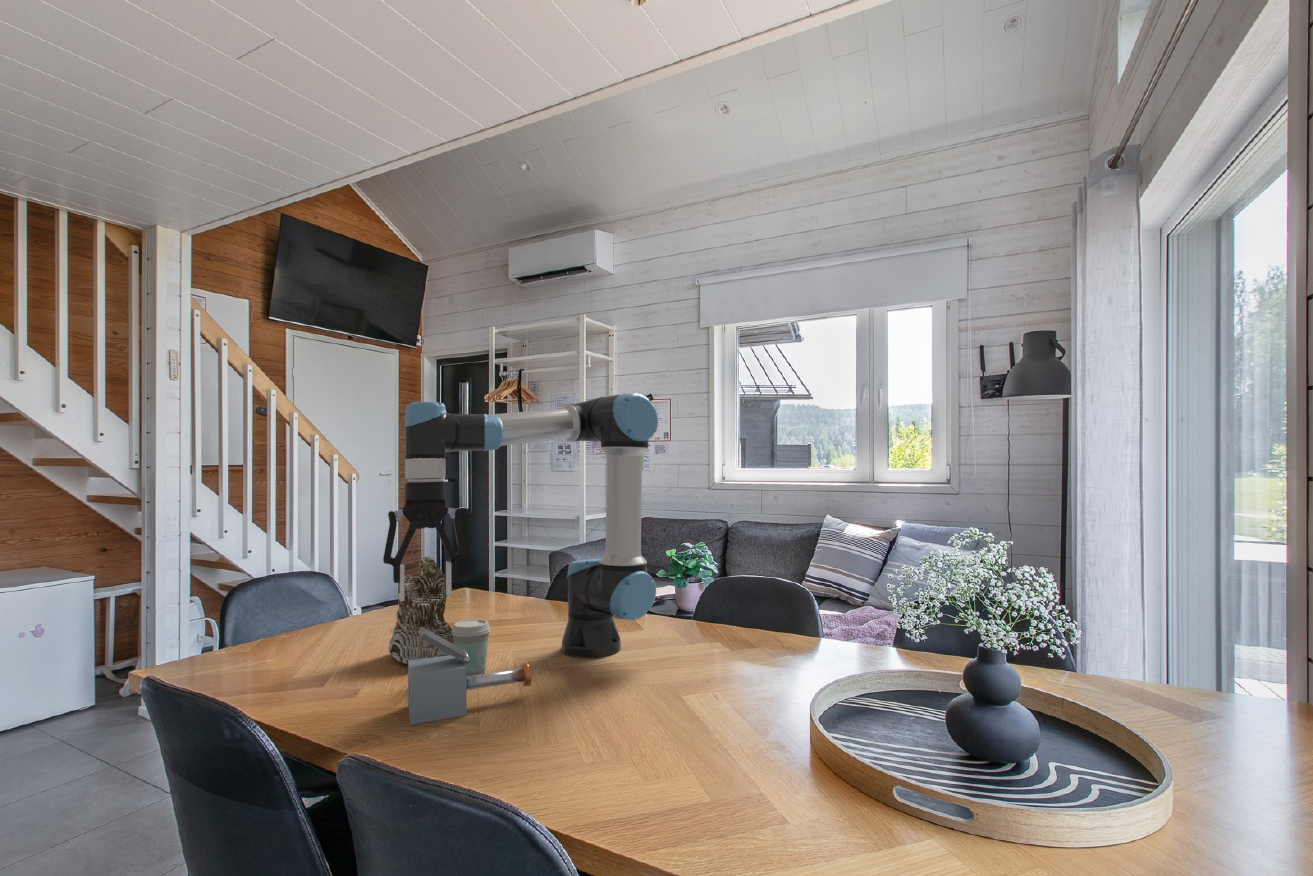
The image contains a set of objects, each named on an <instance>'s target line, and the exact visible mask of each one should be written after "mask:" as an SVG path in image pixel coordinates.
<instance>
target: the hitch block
mask: <svg viewBox="0 0 1313 876" xmlns="http://www.w3.org/2000/svg"><path fill="white" fill-rule="evenodd" d="M407 669H408V670H407V675H408V676H407V679H408V680H407V682H408V683H407V693H408V694H407V703H408V704H407V706H408V713H409V714H408V715H409V721H410V725H418V724H424V723H429V722H430V723H431V722H435V721H441V720H448V719H453V718H459V717H466V716H468V715H467V714H468V712H467V710H468V709H467V707H468V706H467V697H468V696H467V691H468V690H467V679H466V666H465V664H464V662H463V661H461V660H459V659H457V658H455V657H453V656H452V655H448V656H440V657H433V658H425V659H417V660H409V661H408V664H407Z"/></svg>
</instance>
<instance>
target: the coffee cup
mask: <svg viewBox="0 0 1313 876" xmlns="http://www.w3.org/2000/svg"><path fill="white" fill-rule="evenodd" d="M489 624H490V623H489V621H488V620H486V619H482V618H478V619H477V618H476V619H475V618H473V619H465V620H460V621H456V622H455V623H454V624H453V628H452V635H453V640H454V645H456V646H458V647H459V648H461V649H465V650H466V652H467V654H468V656H469V658H470V662H469V663H467V664H466V663H464V664H465V666H466V676H471V675H478V674H486V666H487V656H488V645H489V639H490V638H489V637H490V636H489V635H490V632H491V631H492V630H491V626H490V625H489Z"/></svg>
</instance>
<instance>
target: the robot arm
mask: <svg viewBox="0 0 1313 876" xmlns="http://www.w3.org/2000/svg"><path fill="white" fill-rule="evenodd" d="M658 426H659V417H658V411H657V409H656V408H655V406H654V404H653V403H652V402H651V400H650V399H649V398H648V397H647V396H645V395H643V394H640V393H635V392H633V393H632V392H631V393H629V392H627V393H625V392H623V393H620V394H616V395H615V394H614V395H607V396H601V397H597V398H593V399H590V400H586V401H581V402H577V403H568V404H565V405H563V406H562V408H555V409H544V410H531V411H519V412H505V413H504V412H503V413H494V414H486V413H483V414H479V413H478V414H477V413H473V414H471V413H469V414H468V413H450V412H447V410H446V405H445V404H444V403H443V402H437V401H414V402H409V403H408V404H407V405H406V407H405V415H404V449H405V457H404V458H405V459H404V477H405V480H408V481H407V482H406V483H405V484H404V506H403V507H402V509H399V510H394V511H393V510H389V511H388V513H387V516H388V517H387V518H388V520H389V521H388V522H389V526H388V531H387V537H386V540H385V541H386V542H385V548H384V553H383V557H382V559H383V564H386V565H391V566H392V570H393V574H392V577H393V578H392V580H393V582H394V584H399V591H400V601H404V576H405V564H401V563H402V560H403V559H404V557H405V554H406V552H407V550H408V548H409V546H410V543H411V541H412V539H413V537H414V534H415V532H416V531H417V530H421V529H425V528H427V529H435V531H436V533H437V534H438V537H439V539H440V540H441V543H442V545H443V548H444V549H445V551H446V553H447V556H448V557H449V560H446V561H445V577H446V595H447V596H446V598H447V597H448V598H449V597H452V579H457V576H458V562H459V561H461V560H462V559H466V558H467V555H468V554H467V548H466V544H465V543H466V542H465V538H464V532H463V527H462V522H461V520H462V515H463V510H462V509H461V508H459V507H458V508H454V507H453V508H452V507H449V506H448V505H447V501H446V500H447V499H446V497H447V496H446V492H447V491H446V489H447V487H446V485H447V484H446V483H445V481H443V479H445V478H446V468H447V467H446V458H447V457H446V456H447V455H446V453H451V452H469V451H470V452H471V451H472V452H473V451H474V452H475V451H477V452H478V451H483V452H486V451H496V450H498V449H499V448H500V447H502V446H503V447H504V446H510V445H520V444H529V443H537V442H538V443H539V442H545V441H546V442H547V441H555V440H556V441H557V440H565V441H567V442H570V443H573V442H597V443H600V449H601V451H603V452H604V454H606V495H605V496H606V499H605V500H606V503H605V505H606V506H605V508H606V510H605V554H604V555H603V557H601V558H590V559H579V560H574V561H572V562H570V563H569V564H568V567H567V576H566V578H567V607H568V608H567V609H568V610H567V611H568V612H567V613H568V614H567V615H568V616H567V619H568V620H567V623H566V627H565V629H564V633H563V636H562V640H561V652H562V653H563V654H564V655H566V656H568V657H575V658H585V659H586V658H588V659H589V658H600V657H607V656H611V655H613V654H616V653H618V652H619V651H620V650H621V648H622V647H621V643H622V641H621V636H620V633H619V631H618V627H617V625H616V622H615V619H618V620H625V621H636V620H638V619H640V618H642V617H644V616H645V615H646V614H648V611H649V610H650V609H651V608H652V607H653V605H654V603H655V599H656V596H657V584H656V582H655V580H654V579H653V577H652V576H651V574H649V573H648V562H647V559H646V558H645V557H643V556H642V497H643V496H642V495H643V494H642V488H643V487H642V486H643V485H642V484H643V483H642V482H643V481H642V480H643V479H642V478H643V474H642V473H643V455H645V453H646V452H648V451H649V441H650V439H651V438H653V437H654V434H655V433H656V432H657V430H658ZM447 514H449V518H450V519H452V522H453V529H454V534H455V539H456V545H457V550H458V552H455V551H454V548H453V545H452V543H451V542H450V539H449V538H448V534H447V533H446V531H445V528H444V526H443V524H442V521H443V520H444V518H445V517H446V515H447ZM402 516H404V517H405V519H407V521H408V523H409V525H408V527H407V529H406V532H405V534H404V536H403V539H402V540H401V543H400V545H399V547H398V550H397V551H396V554H395V556H394V557H392V552H393V548H394V543H395V542H394V541H395V537H396V532H397V523H399V522H400V521H401V517H402Z"/></svg>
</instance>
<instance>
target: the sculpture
mask: <svg viewBox="0 0 1313 876" xmlns="http://www.w3.org/2000/svg"><path fill="white" fill-rule="evenodd" d="M418 566H419V570H420V571H421V573H420V574H419V575H418V576H417V575H416V576H415V575H413V574H407V575H404V601H400V590H399V594H398V596H397V601H398V603H397V604H398V609H397V610H396V623H395V626H394V629H393V631H392V636H391V638H390V639H389V643H388V645H389V647H388V654H390V656H391V655H392V657H393V658H395V659H396V661H398V662H399V663H402V664H406V665H408V661H409V660H417V659H425V658H433V657H440V656H448V655H450V654H448V653H446V652H444V651H443V650H441V649H439V648H437V647H435V646H433V645H432V644H430V643H428V642H426V641H424V640H422V639H421V638H420V635H419V629H420V628H421V626H422V627H423V628H425V629H427V630H429V631H431V632H432V633H434V634H436V635H438V636H440V637H441V638H443V639H445V640H447V641H449V642H450V643H452V644H454V640H453V635H452V629H453V628H452V627H451V626H450V625H449V623H448V622H447V621H446V619H445V616H444V615H445V613H446V612H445V611H446V603H447V595H446V574H445V573H443V570H442V569H441V568H440V567H439V566H438V564H437V562H436V561H435V559H432V558H431V557H430V556H429V555H426V556H422V558H420V560H419V562H418Z"/></svg>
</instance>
